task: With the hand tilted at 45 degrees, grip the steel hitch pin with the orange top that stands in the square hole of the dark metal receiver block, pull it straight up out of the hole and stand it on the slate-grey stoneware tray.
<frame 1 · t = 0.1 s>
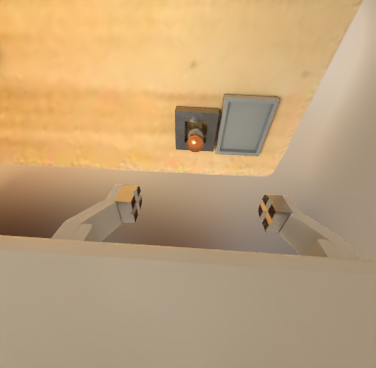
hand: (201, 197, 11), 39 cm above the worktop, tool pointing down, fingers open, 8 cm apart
receiver: (195, 127, 48), on the worktop
pin: (195, 135, 45), in the receiver
tray: (242, 126, 47), on the worktop
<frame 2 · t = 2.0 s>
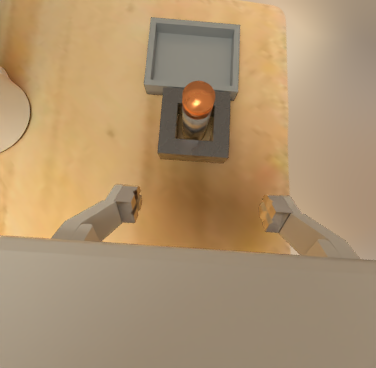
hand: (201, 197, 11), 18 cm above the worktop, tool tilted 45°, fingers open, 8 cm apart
receiver: (193, 131, 30), on the worktop
pin: (195, 117, 25), in the receiver
tray: (192, 65, 32), on the worktop
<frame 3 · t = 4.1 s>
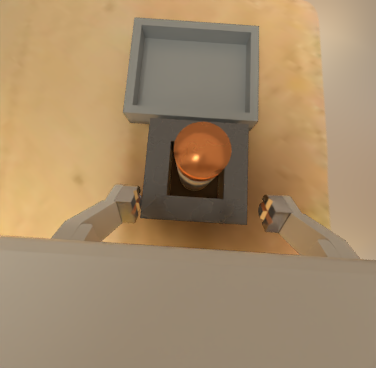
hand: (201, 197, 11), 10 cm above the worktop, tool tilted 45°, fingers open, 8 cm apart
receiver: (194, 175, 22), on the worktop
pin: (197, 166, 17), in the receiver
tray: (193, 82, 23), on the worktop
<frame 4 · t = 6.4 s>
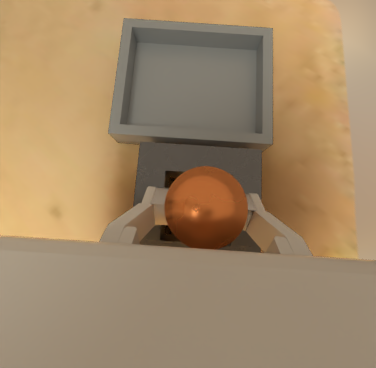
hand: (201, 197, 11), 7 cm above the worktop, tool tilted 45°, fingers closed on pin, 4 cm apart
receiver: (195, 206, 18), on the worktop
pin: (198, 206, 13), in the receiver, touching gripper
tray: (193, 94, 20), on the worktop
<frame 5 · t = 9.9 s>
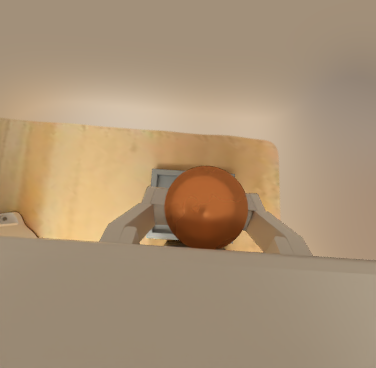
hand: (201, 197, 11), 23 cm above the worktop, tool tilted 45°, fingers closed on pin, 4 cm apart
pin: (198, 206, 13), point 21 cm above the worktop, touching gripper
tray: (191, 205, 34), on the worktop
when the fingers open (9 cm above the worktop, at t = 13.4 s): pin drops 1 cm, resting on tray.
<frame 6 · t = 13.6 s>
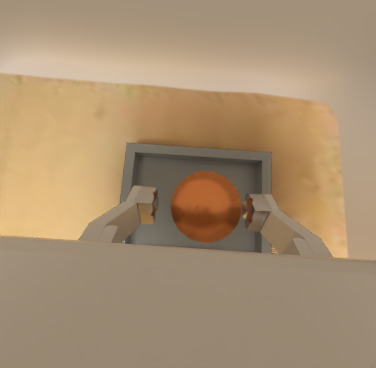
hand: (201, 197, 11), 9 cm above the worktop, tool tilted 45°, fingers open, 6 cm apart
pin: (198, 206, 14), in the tray, point 6 cm above the worktop
tray: (194, 206, 20), on the worktop
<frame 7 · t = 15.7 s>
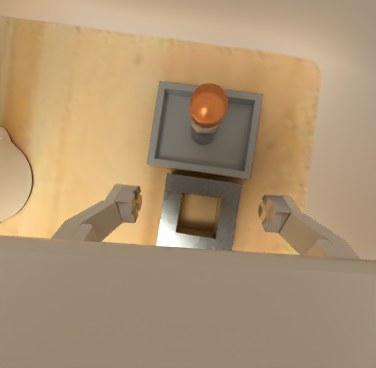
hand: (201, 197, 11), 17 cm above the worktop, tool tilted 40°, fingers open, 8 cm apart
receiver: (197, 211, 28), on the worktop
pin: (205, 121, 23), in the tray, point 6 cm above the worktop
tray: (203, 134, 28), on the worktop
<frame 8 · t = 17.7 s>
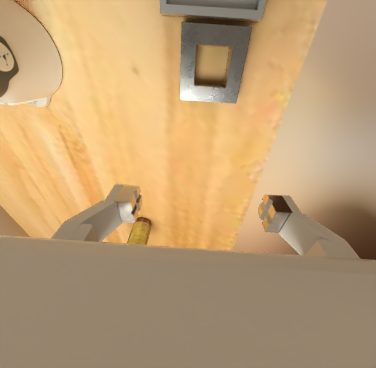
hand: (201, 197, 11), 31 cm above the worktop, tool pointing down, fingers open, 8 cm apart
receiver: (210, 66, 32), on the worktop
sauce bottle: (143, 222, 62), on the worktop
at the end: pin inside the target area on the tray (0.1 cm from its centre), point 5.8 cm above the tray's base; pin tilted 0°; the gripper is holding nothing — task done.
